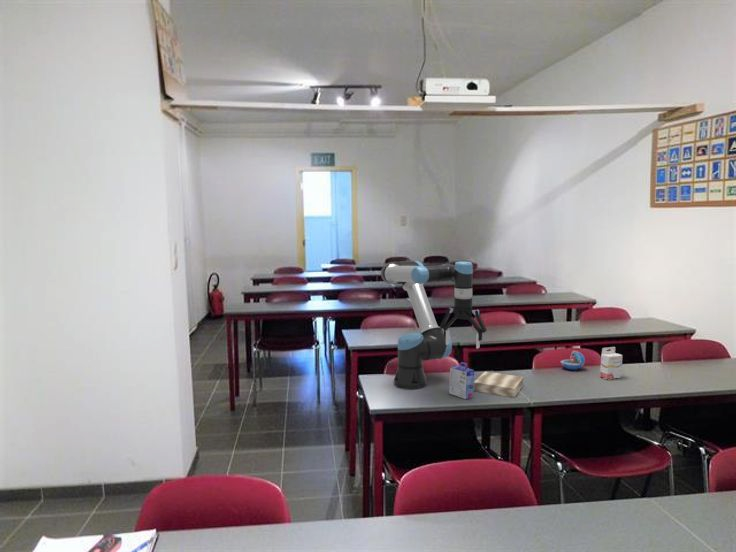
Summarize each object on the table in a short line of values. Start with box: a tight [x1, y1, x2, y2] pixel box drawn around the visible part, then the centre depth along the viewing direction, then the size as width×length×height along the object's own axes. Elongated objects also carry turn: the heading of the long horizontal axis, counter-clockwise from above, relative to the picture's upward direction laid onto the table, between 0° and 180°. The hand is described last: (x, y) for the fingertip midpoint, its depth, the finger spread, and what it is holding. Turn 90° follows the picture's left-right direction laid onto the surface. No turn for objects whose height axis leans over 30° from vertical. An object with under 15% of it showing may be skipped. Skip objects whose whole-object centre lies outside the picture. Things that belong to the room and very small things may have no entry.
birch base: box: [474, 371, 524, 398], centre depth 223 cm, size 18×18×4 cm
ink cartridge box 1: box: [448, 361, 475, 400], centre depth 214 cm, size 10×6×14 cm, turn 38°
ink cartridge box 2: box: [599, 346, 623, 380], centre depth 236 cm, size 9×5×15 cm, turn 108°
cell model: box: [560, 350, 586, 371], centre depth 250 cm, size 10×12×10 cm
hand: (462, 346), depth 212 cm, fingers open, 13 cm apart
